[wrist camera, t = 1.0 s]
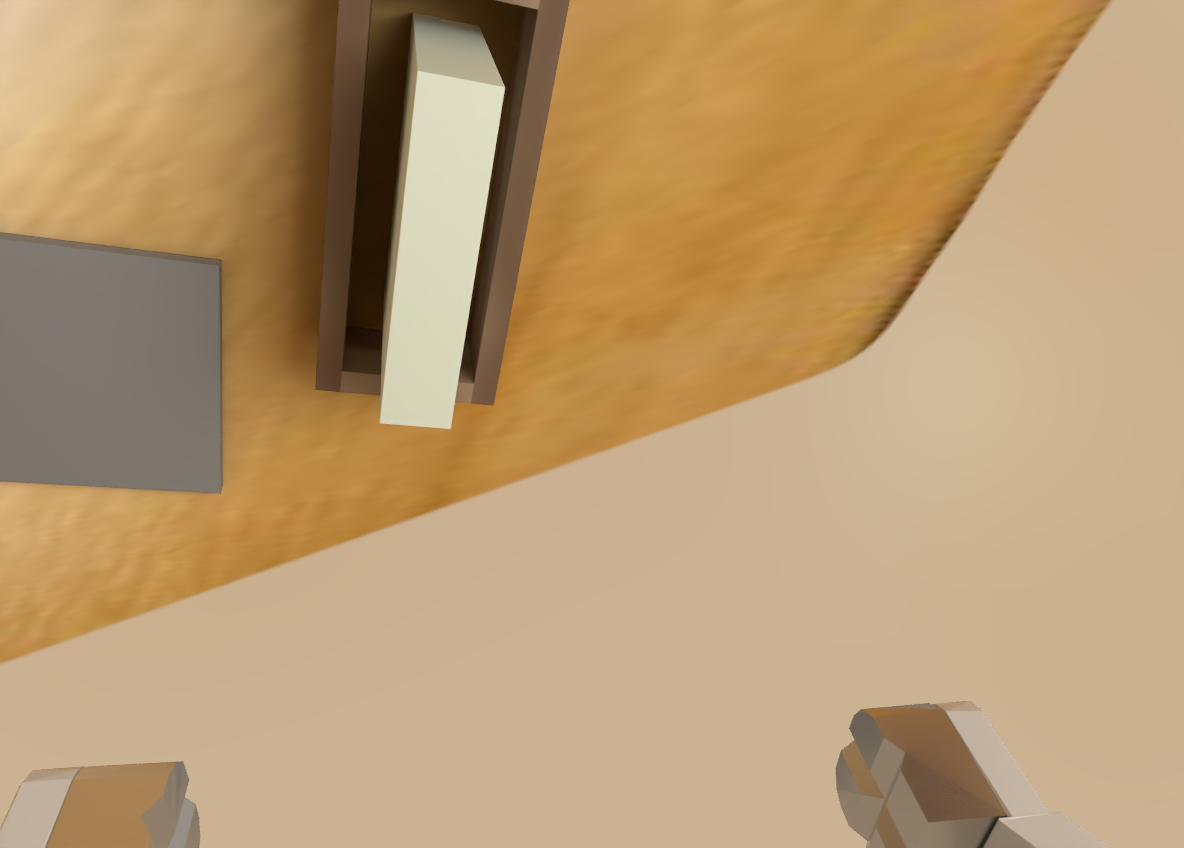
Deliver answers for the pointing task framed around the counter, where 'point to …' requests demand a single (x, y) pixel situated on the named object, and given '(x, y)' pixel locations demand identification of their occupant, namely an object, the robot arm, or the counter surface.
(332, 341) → the walnut box
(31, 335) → the rubber mat
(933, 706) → the robot arm
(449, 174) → the cream rectangular block
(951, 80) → the counter surface
